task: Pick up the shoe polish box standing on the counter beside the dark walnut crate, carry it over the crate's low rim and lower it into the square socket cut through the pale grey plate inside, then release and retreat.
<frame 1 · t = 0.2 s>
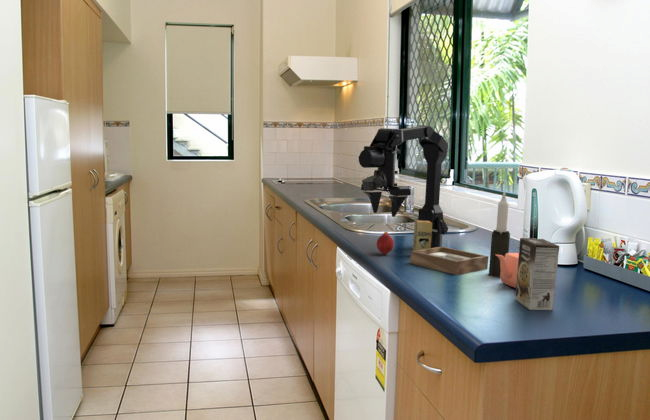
hand: (384, 214, 202), 14 cm above the worktop, tool pointing down, fingers open, 9 cm apart
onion: (384, 255, 208), on the worktop
teapot: (520, 287, 171), on the worktop
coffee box: (533, 305, 153), on the worktop
candle: (497, 275, 185), on the worktop
walnut crate with socket plate: (448, 266, 194), on the worktop
shoe polish box: (421, 257, 208), on the worktop
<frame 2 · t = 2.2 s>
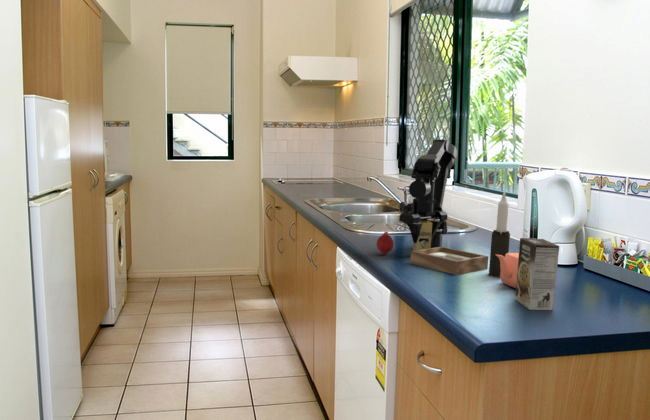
hand: (422, 241, 207), 5 cm above the worktop, tool pointing down, fingers closed on shoe polish box, 7 cm apart
shoe polish box: (421, 257, 208), on the worktop, touching gripper
everything else where it was.
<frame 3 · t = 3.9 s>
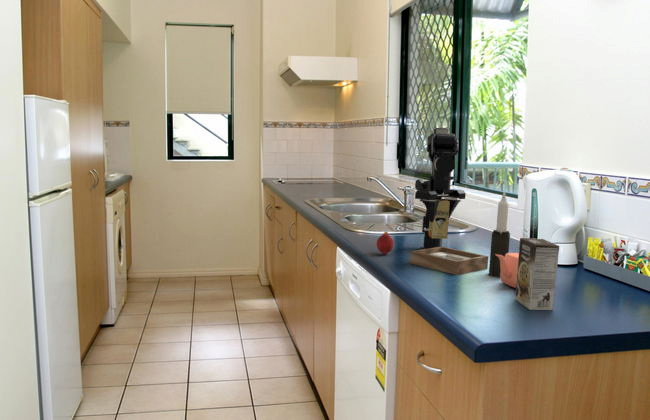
hand: (438, 221, 198), 13 cm above the worktop, tool pointing down, fingers closed on shoe polish box, 7 cm apart
shoe polish box: (437, 237, 199), point 8 cm above the worktop, touching gripper
everything else where it was.
when the fingers open (6 cm above the worktop, at t = 6.0 s): shoe polish box drops 1 cm, resting in walnut crate with socket plate.
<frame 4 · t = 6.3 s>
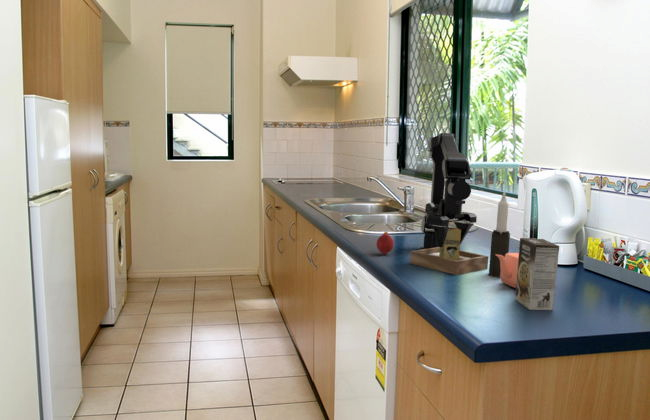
hand: (449, 245, 194), 6 cm above the worktop, tool pointing down, fingers open, 9 cm apart
shoe polish box: (448, 266, 195), resting in walnut crate with socket plate
everything else where it was.
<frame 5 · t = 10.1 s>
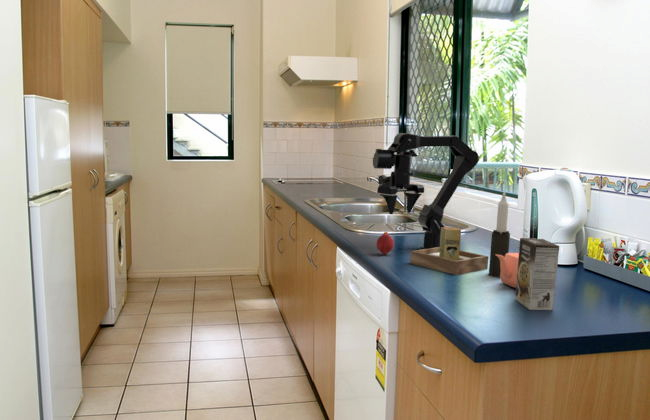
hand: (399, 213, 217), 13 cm above the worktop, tool pointing down, fingers open, 9 cm apart
nothing on the worktop moved.
at the end: shoe polish box 0.1 cm off-centre on the walnut crate with socket plate, point 0.0 cm above the walnut crate with socket plate's base; shoe polish box tilted 0°; the gripper is holding nothing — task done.
